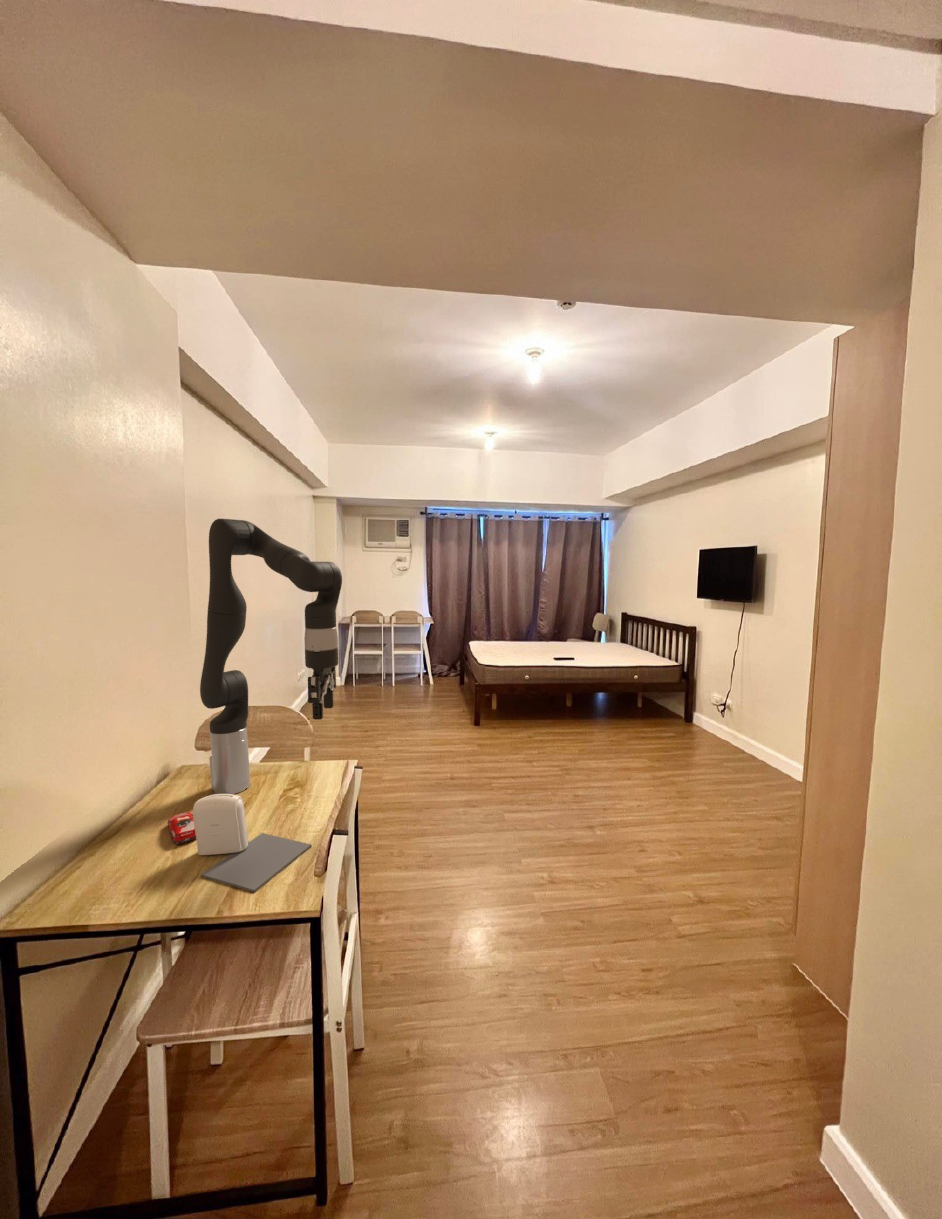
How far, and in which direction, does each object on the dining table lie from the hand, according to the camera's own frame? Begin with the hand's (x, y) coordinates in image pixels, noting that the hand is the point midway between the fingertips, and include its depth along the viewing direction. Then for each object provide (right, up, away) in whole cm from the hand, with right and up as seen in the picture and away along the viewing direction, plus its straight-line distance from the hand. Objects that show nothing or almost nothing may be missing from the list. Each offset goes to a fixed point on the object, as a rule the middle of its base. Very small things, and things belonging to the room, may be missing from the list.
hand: (323, 713), depth 115 cm
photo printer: (-19, -28, -10) cm, 35 cm away
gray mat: (-9, -28, -14) cm, 33 cm away
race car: (-33, -28, -2) cm, 43 cm away
